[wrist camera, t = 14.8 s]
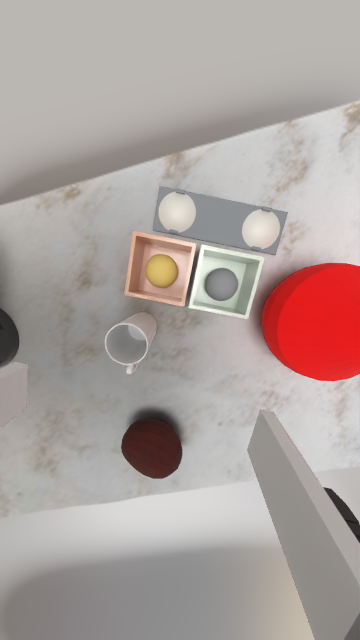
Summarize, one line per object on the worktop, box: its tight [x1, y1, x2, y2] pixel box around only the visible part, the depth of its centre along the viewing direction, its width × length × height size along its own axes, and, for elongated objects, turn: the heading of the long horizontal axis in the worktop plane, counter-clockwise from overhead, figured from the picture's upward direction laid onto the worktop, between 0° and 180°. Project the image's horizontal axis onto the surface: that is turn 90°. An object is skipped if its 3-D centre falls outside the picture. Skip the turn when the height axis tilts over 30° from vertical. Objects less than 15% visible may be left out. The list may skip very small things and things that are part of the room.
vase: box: [261, 263, 360, 381], centre depth 26 cm, size 18×18×30 cm
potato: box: [121, 419, 182, 479], centre depth 42 cm, size 11×13×10 cm
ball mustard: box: [145, 254, 178, 288], centre depth 36 cm, size 6×6×6 cm
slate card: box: [153, 186, 288, 255], centre depth 37 cm, size 24×8×1 cm, turn 79°
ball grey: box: [205, 268, 238, 301], centre depth 36 cm, size 6×6×6 cm
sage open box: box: [188, 245, 265, 319], centre depth 36 cm, size 10×10×8 cm
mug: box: [105, 312, 157, 374], centre depth 36 cm, size 10×7×12 cm, turn 177°
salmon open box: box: [124, 231, 196, 307], centre depth 36 cm, size 10×10×8 cm
